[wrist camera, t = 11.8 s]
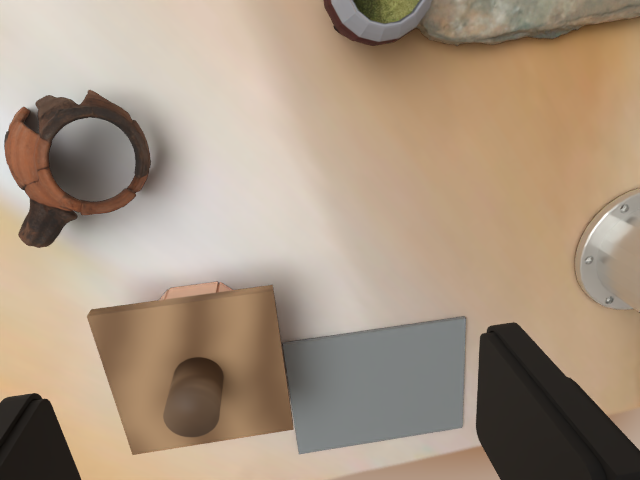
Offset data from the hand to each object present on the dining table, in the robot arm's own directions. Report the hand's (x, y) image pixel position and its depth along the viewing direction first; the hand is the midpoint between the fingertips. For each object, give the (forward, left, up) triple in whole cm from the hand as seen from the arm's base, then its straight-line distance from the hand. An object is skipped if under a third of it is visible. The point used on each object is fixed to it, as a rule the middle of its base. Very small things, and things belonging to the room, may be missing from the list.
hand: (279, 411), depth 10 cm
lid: (+8, +17, -25) cm, 32 cm away
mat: (-8, +26, -30) cm, 41 cm away
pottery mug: (+14, 0, -31) cm, 34 cm away
